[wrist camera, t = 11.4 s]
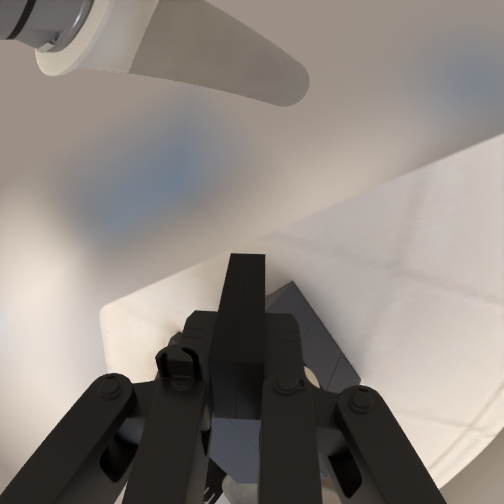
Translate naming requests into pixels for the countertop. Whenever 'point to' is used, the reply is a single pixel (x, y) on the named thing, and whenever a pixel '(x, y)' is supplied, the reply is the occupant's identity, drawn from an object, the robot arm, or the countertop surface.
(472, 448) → the countertop surface
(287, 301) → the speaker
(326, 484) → the bowl
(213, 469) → the electronic device
